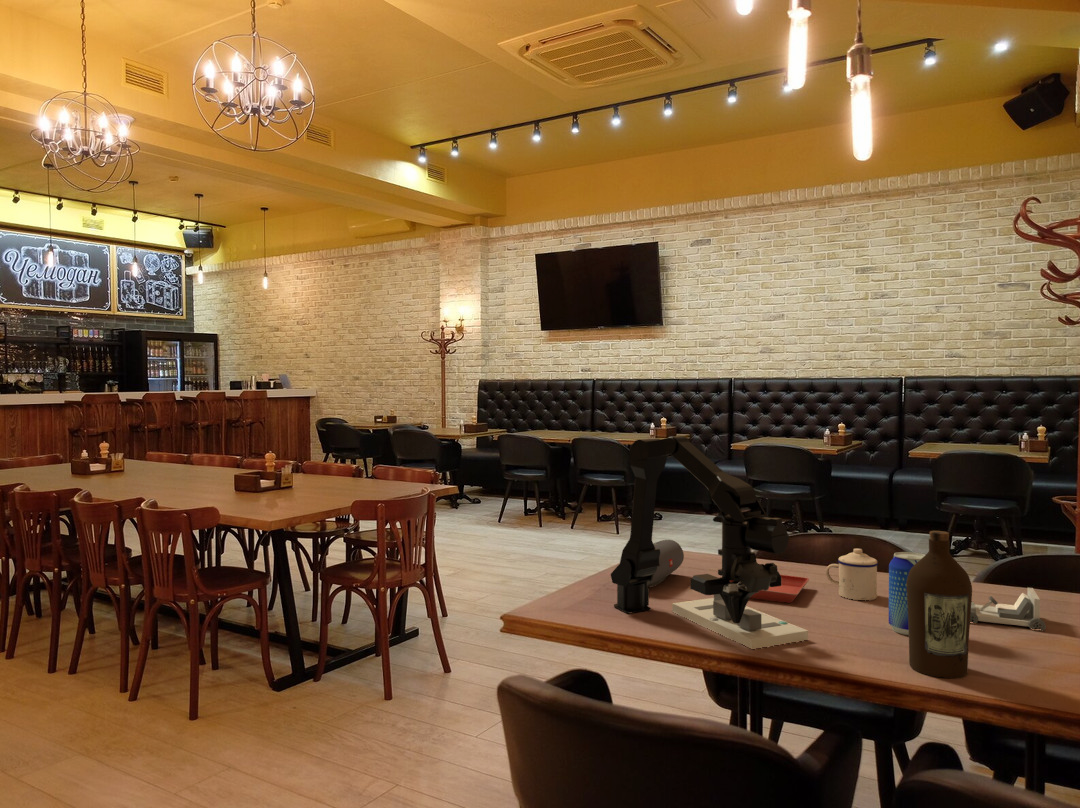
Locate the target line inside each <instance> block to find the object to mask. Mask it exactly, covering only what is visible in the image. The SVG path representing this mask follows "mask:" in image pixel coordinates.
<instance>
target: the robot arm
mask: <svg viewBox="0 0 1080 808" xmlns="http://www.w3.org/2000/svg"><path fill="white" fill-rule="evenodd" d="M670 457H673V458H674V459H675V460H676V461H677V462H678V463H679V464H680V465H682V466H683V467H684V468H685V469H686V470H687V471H688V472H689V473H690V474H692V475H693V476H694V477H695V479H697V480H698V481H699V482H700V483H701V484H702V485H703V486H704V487H706V489H707V490H708V492H709V495H710V498H711V500H712V501H713V503H714V504H715V505H716V506H717V508H718V509H719V510H720V511H719V513H718V514H717V515H716V516H715V517H713V518H712V521H713V522H714V523H720V524H721V548H720V549H719V548H718V549H717V555H719V556H721V568H720V569H719V568H718V569H717V575H719V576H721V577H718V576H715V575H712V574H709V573H704V574H703V573H702V574H694V575H693V576H692V577H691V578H690V581H689V582H690V583H689V584H690V590H691V591H695V592H697V593H700V594H702V595H705V596H714V595H716V594H720V596H721V597H722V599H723V601H724V603H725V605H726V607H727V609H728V612H729V614H730V616H731V618H732V621H733V622H734V623H735V624H737V623H740V620H741V618H742V615H743V612H744V610H745V607H746V606H747V604H748V603H749V600H750V599H751V598H750V597H751V596H752V595H754V594H755V593H758V592H759V590H768V589H769V587H777V586H781V585H782V577H781V575H782V574H780V571H778V565H776V564H775V563H774V562H768V563H767V562H766V563H758V562H757V555H756V552H755V551H759V552H764V553H771V554H775V555H782V554H783V553H784V552H785V551H786V549H787V548H788V545H789V539H790V537H789V536H790V535H789V533H788V530H787V528H786V526H785V525H783V519H782V518H781V517H768V514H767V513H766V511H765V509H764V507H763V506H762V504H761V502H760V500H759V499H758V497H757V496H756V493H757V491H756V489H755V488H754V487H753V486H752V485H751V484H750V483H747V482H746V481H744V480H742V479H741V478H738V477H736V476H733V475H731V474H729V473H727V472H725V471H724V470H723V469H721V467H719V466H718V465H717V464H716V463H714V462H713V461H712V460H711V459H710V458H709V457H707V456H706V455H705V454H704V453H703V452H702V451H701V450H700V449H698V448H697V447H696V446H695V445H694V444H693V443H692V442H690V439H689V438H688V437H686V436H684V435H676V436H675V435H673V436H668V437H667V438H661V439H660V438H644V439H643V438H642V439H637V440H635V441H633V442H632V443H630V447H629V466H630V468H631V470H632V473H633V475H634V477H635V479H634V480H635V481H634V490H633V499H632V512H631V522H630V523H631V524H630V536H629V539H628V540H627V542H626V544H625V546H624V547H623V549H622V552H621V556H620V559H619V560H620V561H619V564H618V565H617V566H616V567H615V568H614V569H613V570H612V572H611V573H610V578H611V582H612V583H613V584H615V585H617V586H616V589H617V590H616V595H617V596H616V600H617V602H616V603H613V607H614V608H616V609H617V610H620V611H622V612H624V613H625V614H632V613H638V612H639V613H640V612H648V611H651V610H652V608H651V607H650V606H649V604H650V599H649V598H650V597H649V596H650V594H649V593H650V587H647V581H652V579H653V575H654V573H655V572H656V570H657V567H658V566H660V564H659V556H660V549H656V548H655V546H654V544H653V532H654V531H653V530H654V520H655V507H656V499H657V498H656V497H657V496H656V495H657V485H658V479H659V477H660V476H661V474H662V472H663V471H664V469H665V468H666V463H667V459H668V458H670ZM752 550H753V551H752ZM729 581H731V582H729Z"/></svg>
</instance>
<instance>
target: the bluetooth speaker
mask: <svg viewBox="0 0 1080 808" xmlns="http://www.w3.org/2000/svg"><path fill="white" fill-rule="evenodd" d="M653 544H654V546H655V548H656V549H660V556H659V564H660V566H658V567H657V570H656V572H655V573H654V575H653V579H652V581H647V587H648V588H653V587H656V586H657V584H658V585H659V584H661V583H663V582H664V581H665V580H666V578H667V577H668V576H669V575H671V574H672V573H673V572H675V571H676V570H677V569H678V568H680V567H681V565H682V564H683V563H684V558H685V556H684V555H685V554H684V551H683V548H682V547H681V544H679V543H678V541H675V540H673V539H662V540H659V541H656V542H654V543H653ZM655 585H656V586H655ZM652 586H653V587H652Z"/></svg>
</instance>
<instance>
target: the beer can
mask: <svg viewBox="0 0 1080 808" xmlns="http://www.w3.org/2000/svg"><path fill="white" fill-rule="evenodd" d="M925 555H926V554H924V553H919V552H918V553H917V552H911V551H900V552H894V554H893V558H892V559H891V560H890V562H889V564H888V624H889V625H890V626H891V628H892V631H893V632H895V633H898V634H900V635H904V636H909V629H908V606H907V587H906V582H907V577H908V574H909V571H910V570H911V568H912V567H913V566H914V565H915V564H916V563H917V562H918V561H919V560H921V559H922V558H923V557H924V556H925Z"/></svg>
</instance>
